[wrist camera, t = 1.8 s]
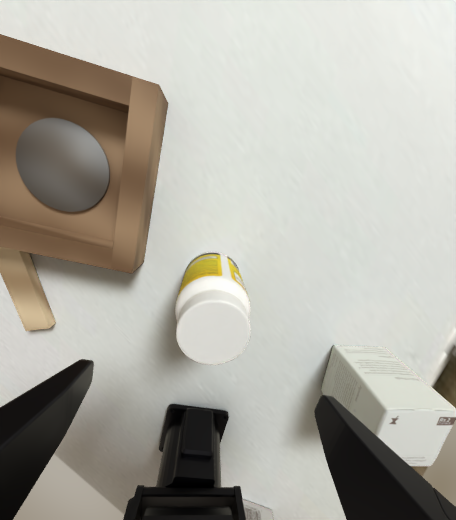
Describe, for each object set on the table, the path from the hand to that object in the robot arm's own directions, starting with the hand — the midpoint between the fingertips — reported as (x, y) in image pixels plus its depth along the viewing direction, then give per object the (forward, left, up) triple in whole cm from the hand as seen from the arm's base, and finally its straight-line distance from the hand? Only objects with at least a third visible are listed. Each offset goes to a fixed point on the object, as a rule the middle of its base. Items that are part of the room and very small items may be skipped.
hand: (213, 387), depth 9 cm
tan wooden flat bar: (-4, +15, -12) cm, 19 cm away
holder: (+6, +12, -12) cm, 18 cm away
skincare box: (-7, -17, -12) cm, 22 cm away
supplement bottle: (0, 0, -12) cm, 12 cm away
